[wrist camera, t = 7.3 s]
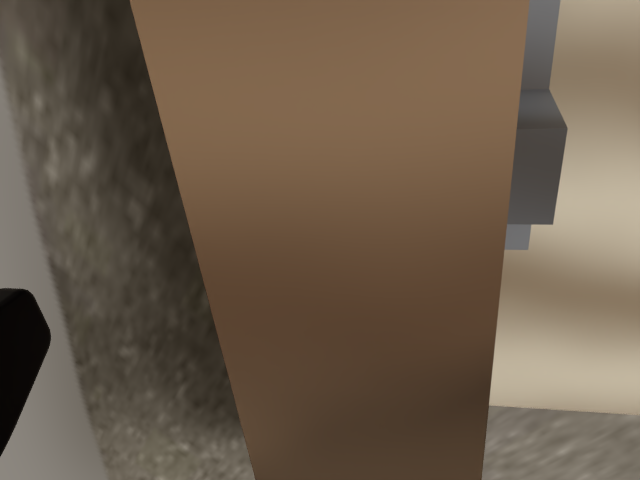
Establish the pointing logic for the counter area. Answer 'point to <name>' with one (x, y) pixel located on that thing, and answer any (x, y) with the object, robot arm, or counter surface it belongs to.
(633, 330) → the flat beige square board
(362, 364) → the walnut bar
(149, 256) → the counter surface
